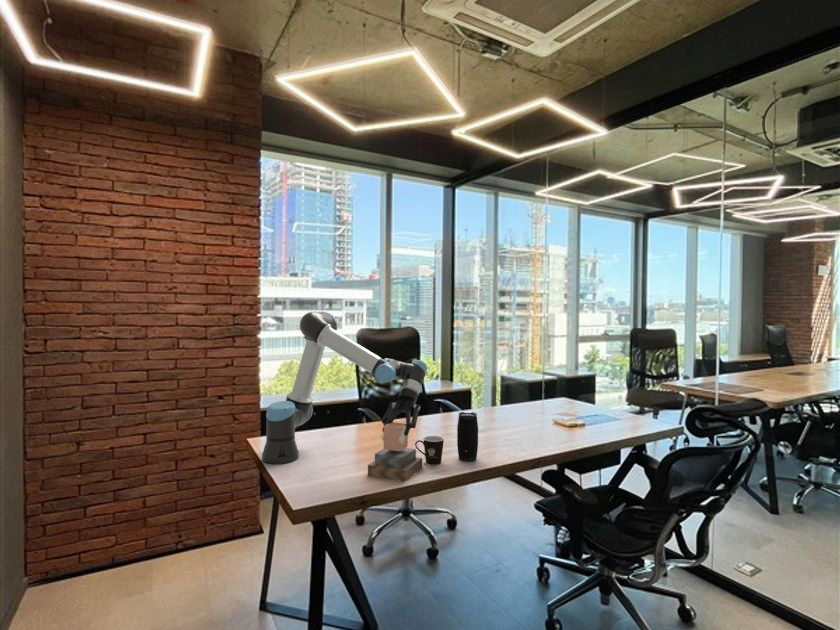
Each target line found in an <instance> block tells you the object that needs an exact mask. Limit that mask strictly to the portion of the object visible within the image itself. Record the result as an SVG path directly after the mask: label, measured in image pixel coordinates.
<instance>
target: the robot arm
mask: <svg viewBox="0 0 840 630" xmlns="http://www.w3.org/2000/svg"><path fill="white" fill-rule="evenodd" d="M338 328H339V327H338V321H337V318H336V317H335V316H334V315H333V314H332V313H330V312H327V311H309V312H307V313H305V314H304V315H303V316H302V317H301V318H300V322H299V330H300V332H301V334H302V335H303V336H304V337H303V338H304V340H305V346H304V348H303V353H302V355H301V359H300V363H299V366H298V369H297V372H296V377H295V380H294V384H293V387H292V390H291V392H289V393H287V395H286V398H285V400H281V401H278V402H273V403H270V404H269V405H268V406H267V408H266V415H265V417H266V420H265V421H266V423H265V424H266V427H265V428H266V429H265V430H266V432H265V433H266V440H265V445H264V448H263V451H262V455H261V461H262V462H263V463H265V464H269V465H271V464H272V465H279V464H287V462H288V463H292V462H295V461H297V460H298V459H299V457H300V453H299V452H300V450H299V449H298V445H297V442H296V437H295V436H296V428H298V427H300V426H302V425H304V424H306V423H307V422H308V421H309V420H310V419H311V417H312V415H313V412H314V410H313V409H314V407H313V406H312V404H313V398H312V396H311V395H312V393H313V389H314V385H315V382H316V379H317V375H318V371H319V368H320V365H321V361H322V358H323V354H324V351H325V348H326V347H327V348H328V349H331V350H332V351H334V352H335V353H337V354H338V355H340V356H342V357H344V358H346V359H347V360H348V361H350V362H351V363H353V364H355V365H356V366H358V367H360V368H362V369H363V370H365V371H366V372H368V373H370V374H371V375H374V376H375V378H376V379H377V381H379V382H380V383H383V384H385V383H390V382H392V381H393V380H395V379H398V380H403V381H404V382H403V385H402V387H401V390H400V392H399V394H398V398H397V400H396V401H395V402H393V401H389V403H388V407H387V409H386V411H385V413H384V414H383V416H382V419H381V420H380V421H381V423H382V424H383V427H382V435H381V437H380V438H381V441H382V442H383V443H384V426H385V425H387V424H389V423H391V422H394V421H395V419H396V418H397V417H399V415H401V414H402V413H404V414H405V424H406V426H404V427H403V430H402V433H401V436H400V438H399V442H400V443H401V444H403V442H404V439H405V436H409V433H410V430H411V429H416V427H417V422H418V417H419V413H420V411H421V409H422V408H421V405H420V404H419V403H417V400H418V398H419V394H420V391H421V389H422V386H423V383H424V380H425V378H426V374H427V371H428V366H427V364H426V363H425V362H424V361H422V360H421V359H414V360H412V362H411V363H408V362H403V361H401V360H400V361H399V360H396V359H393V358H386V357H385V358H382V357H380V356H379V355H378V354H376V353H374V352H372V351H370V350H369V349H367V348H366V347H364V346H362V345H361V344H359V343H358V342H355V341H353V340H352V339H350V338H349V337H347V336H346V335H344V334H341V332H339V331H337V330H338ZM416 403H417V404H416ZM412 410H413V413H411V412H412ZM411 414H412V418H411ZM296 459H297V460H296ZM294 460H295V461H294ZM291 461H292V462H291Z"/></svg>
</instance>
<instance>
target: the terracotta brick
mask: <svg viewBox="0 0 840 630" xmlns="http://www.w3.org/2000/svg"><path fill="white" fill-rule="evenodd" d="M404 426H406V423H402V422H394V421H393V422H391V423H389V424H387V425H385V426H384V425H383V427H384V442H383V449H386V450H393V451H401V450H403V449H405V448H409V447H408V445H409V444H408V443H409V441H408V440H409V439H408V438H409V437H408V436H409V435H408V436H405V439H404V442H403V444H401V443H400V442H399V438H400V436H401V433H402V430H403V427H404Z"/></svg>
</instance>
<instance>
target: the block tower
mask: <svg viewBox="0 0 840 630" xmlns="http://www.w3.org/2000/svg"><path fill="white" fill-rule="evenodd" d="M420 469H421V470H422V469H423V458H421V457H417V448H410V447H406V448H405V449H403V450H401V451H393V450H386V449H384V448H383V449H381V450H379V451H378V452H375V453H374V460H373V461H371V462H370V463H368V464H367V476H369V475H370V477H375V478H376V477H377V478H381V479H387V480H393V479H394V481H399V480H400V482H405V481H406V482H407V481H408V480H409V479H411V478H412V477H413V476H414V475H416V474H417V473H419V470H420ZM421 470H420V471H421ZM415 473H416V474H415ZM410 477H411V478H410Z"/></svg>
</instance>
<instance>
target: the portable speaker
mask: <svg viewBox="0 0 840 630" xmlns="http://www.w3.org/2000/svg"><path fill="white" fill-rule="evenodd" d="M457 419H458V420H457V426H456V428H457V429H456V430H457V431H456V434H457V436H456V439H457V442H456V444H457V455H458V460H459V461H463V460H468V461H469V462H475V461H477V457H478V451H479V450H478V449H479V447H478V446H479V423H478V414H477V413H476V412H464V411H461V412H459V413H458V417H457Z"/></svg>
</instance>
